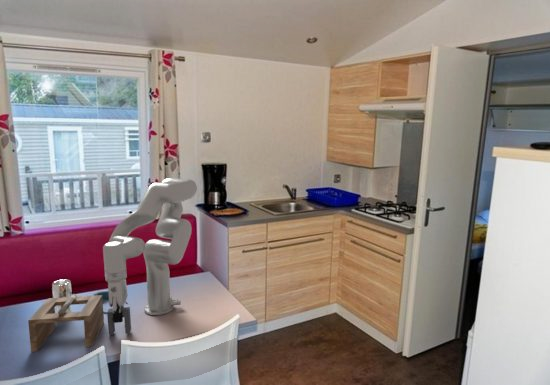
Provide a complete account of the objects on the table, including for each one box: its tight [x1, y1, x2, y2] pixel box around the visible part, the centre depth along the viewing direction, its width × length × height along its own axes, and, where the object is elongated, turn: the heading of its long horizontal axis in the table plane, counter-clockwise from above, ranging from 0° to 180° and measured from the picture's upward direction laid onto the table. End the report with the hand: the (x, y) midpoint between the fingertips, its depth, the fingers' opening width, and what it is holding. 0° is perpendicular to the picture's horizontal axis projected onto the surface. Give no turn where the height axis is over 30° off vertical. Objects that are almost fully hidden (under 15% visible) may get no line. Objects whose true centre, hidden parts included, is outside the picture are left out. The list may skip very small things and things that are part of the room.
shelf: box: [27, 293, 105, 353], centre depth 144 cm, size 20×18×14 cm
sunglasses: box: [91, 290, 129, 314], centre depth 172 cm, size 14×15×5 cm
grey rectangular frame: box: [106, 306, 132, 336], centre depth 147 cm, size 8×3×9 cm, turn 101°
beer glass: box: [51, 279, 73, 313], centre depth 160 cm, size 7×7×15 cm
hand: (119, 319), depth 146 cm, fingers closed on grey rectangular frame, 3 cm apart
